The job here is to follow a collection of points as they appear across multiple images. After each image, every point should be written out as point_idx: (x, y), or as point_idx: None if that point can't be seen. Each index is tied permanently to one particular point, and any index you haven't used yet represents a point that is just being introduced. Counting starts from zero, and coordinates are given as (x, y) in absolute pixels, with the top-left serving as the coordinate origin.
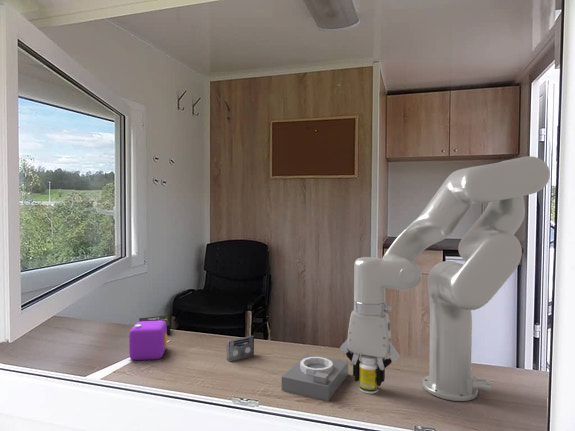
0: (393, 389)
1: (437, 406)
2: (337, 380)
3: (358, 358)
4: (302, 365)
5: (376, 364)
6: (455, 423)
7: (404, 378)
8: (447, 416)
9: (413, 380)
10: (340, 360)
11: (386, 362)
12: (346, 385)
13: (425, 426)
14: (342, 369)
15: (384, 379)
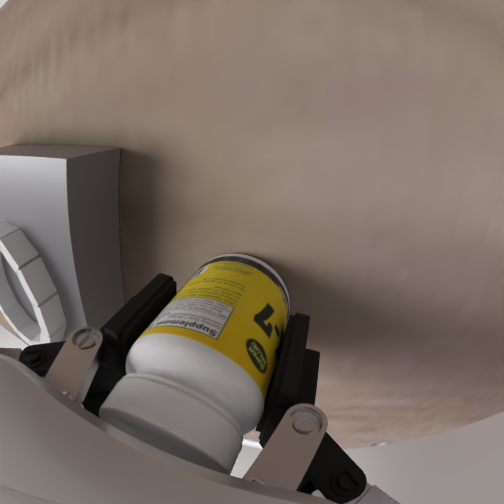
0: (374, 274)
1: (487, 364)
2: (104, 323)
3: (96, 362)
4: (5, 316)
5: (242, 428)
6: (473, 417)
7: (454, 115)
8: (477, 400)
9: (494, 141)
10: (39, 159)
11: (309, 487)
12: (141, 268)
13: (397, 442)
14: (78, 271)
15: (318, 353)
